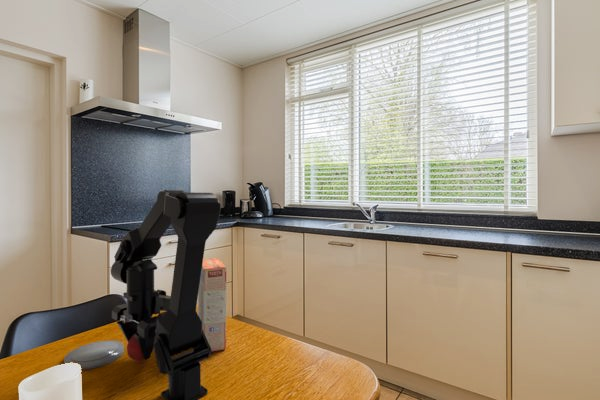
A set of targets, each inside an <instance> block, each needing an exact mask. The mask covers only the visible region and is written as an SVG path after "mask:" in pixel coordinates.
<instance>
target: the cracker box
mask: <svg viewBox="0 0 600 400" xmlns="http://www.w3.org/2000/svg"><path fill="white" fill-rule="evenodd" d="M197 305H198V306H197V307H198V308H197V310H198V311H197V314H198V315H199V317H200V319H201V321H202V330H203V332H204V334H205V336H206V338H207V341H208V343H209V345H210V347H211V353H212V352H218V351H224V350H227V267H226V266H225V265H224V263H223V262H222V261H221V260H220V259H219V258H218V257H213V258H212V257H211V258H203V264H202V271H201V278H200V285H199V292H198V299H197Z"/></svg>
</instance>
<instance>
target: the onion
mask: <svg viewBox="0 0 600 400" xmlns="http://www.w3.org/2000/svg"><path fill="white" fill-rule="evenodd" d="M137 333H138V332H137ZM154 351H155V350H154V347H153V350H152V353H153V352H154ZM126 353H127V356H128V357H129V358H130V359H131V360H133V361H135V362H137V363H143V362H145V360H144V358H143V355H142V353H141V350H140V348H139V345H138V343H137V340H136V338H135V335H133V336H132V337H131V339H130V340H129V342H128V341H127V346H126Z"/></svg>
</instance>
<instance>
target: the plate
mask: <svg viewBox="0 0 600 400" xmlns="http://www.w3.org/2000/svg"><path fill="white" fill-rule="evenodd" d="M124 352H125V345H124V343H123V342H121V341H119V340H100V341H94V342H91V343H87V344H84V345H81V346H78V347H77V348H73V349H72V350H70V351H69V352H68V353H67V354H66V355H65V356H64V358H63V364H64V363H70V362H73V363H78V364H80V365H81V368H82V370H81V371H87V370H91V369H96V368H99V367H103V366H105V365H108V364H110V363H113V362H115V361H116V360H118V359H119V358H120V357H122V356H123V354H124Z"/></svg>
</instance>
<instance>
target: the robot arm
mask: <svg viewBox="0 0 600 400" xmlns="http://www.w3.org/2000/svg"><path fill="white" fill-rule="evenodd" d="M221 209H222V205H221V202H220V200H219V199H218V198H217V196H216V194H215V193H213V192H194V191H193V192H192V191H191V192H187V191H184V190H181V189H165V190H164V189H163V190H162V191H159V192H158V194H157V197H156V202H155V203H154V204H153V205H152V208H151V209H150V210H149V212H148V214H147V215H146V217H145V218H144V220H143V221H142V222H141V224H140V225H139V226H138V227H137V228H134V229H131V230H129V231H128V232H127V233H126V234H125V235H124V236H123V238H122V240H121V241H120V243H119V246H118V249H117V250H116V253H115V254H114V262H113V263H112V266H111V268H110V275H111V277H112V278H113V279H114V280H117V281H118V282H121V283H123V284H126V292H123V294H122V297H123V298H124V299H126V303H122V304H118V305H115V306H114V307H113V309H112V310H111V319H113V320H114V321H117V322H116V324H117V326H118V327H119V329H120V331H121V333H122V335H124V338H125V339H126V341H127V343H128V342H129V340H130V339H131V337H132V336H133V335H135V338H136V340H137V343H138V345H139V348H140V350H141V353H142V355H143V358H144V361H147V360H150V359H151V357H152V354H153V352H152V350H153V347H154V350H153V351H154V355H155V357H154V358H155V361H156V366H157V368H158V373H159V374H161V375H163V374H164V375H165V374H166V375H167V376H168V377H167V378H168V381H167V382H168V388H167V389H164V390H163V391H161V393H160V397H161V398H162V399H164V400H197V399H199V398H201V397H203V396H205V395H207V394H208V389H207V388H206V387H204V385H201V381H202V379H201V378H202V377H201V375H202V373H201V371H202V369H201V362H203V361H204V360H206V359H210V358H211V353H212V352H211V347H210V345H209V343H208V341H207V338H206V336H205V334H204V332H203V330H202V321H201V319H200V317H199V315H198V311H197V307H198V306H197V305H198V292H199V285H200V278H201V271H202V264H203V259H204V255H205V249H206V242H207V240H209V239H208V238H209V237H211V235H212V234H213V232H214V231H215V230H216V228H217V226H218V223H219V222H218V221H219V218H220V215H221ZM170 226H172V228H173V230H174V232H175V234H176V236H177V245H176V252H175V259H174V267H173V268H174V269H173V276H172V284H171V292H170V295H167V292H166V290H162V289H157V290H155V270H158V266H157V264H156V263H155V262H154V261H153V258H155V257H156V256H157V254H158V253H159V251H160V249H161V247H162V243H161V238H162V237H163V235H164V234H165V233H166V232H167V230H168V229H169V228H170ZM161 311H162V312H161ZM154 315H155V316H154ZM137 332H138V333H137ZM178 354H179V355H178ZM173 356H174V357H173Z"/></svg>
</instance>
